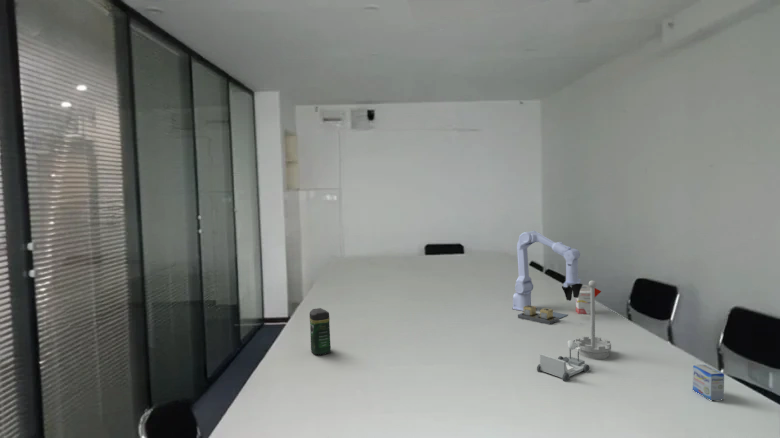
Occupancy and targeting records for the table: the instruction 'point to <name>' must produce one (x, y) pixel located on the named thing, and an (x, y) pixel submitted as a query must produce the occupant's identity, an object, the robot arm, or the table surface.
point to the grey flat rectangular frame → (538, 318)
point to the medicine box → (708, 382)
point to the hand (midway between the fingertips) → (572, 298)
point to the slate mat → (559, 315)
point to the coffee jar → (320, 331)
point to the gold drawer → (530, 310)
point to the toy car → (563, 364)
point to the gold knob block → (546, 314)
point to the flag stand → (593, 334)
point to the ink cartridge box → (584, 301)
